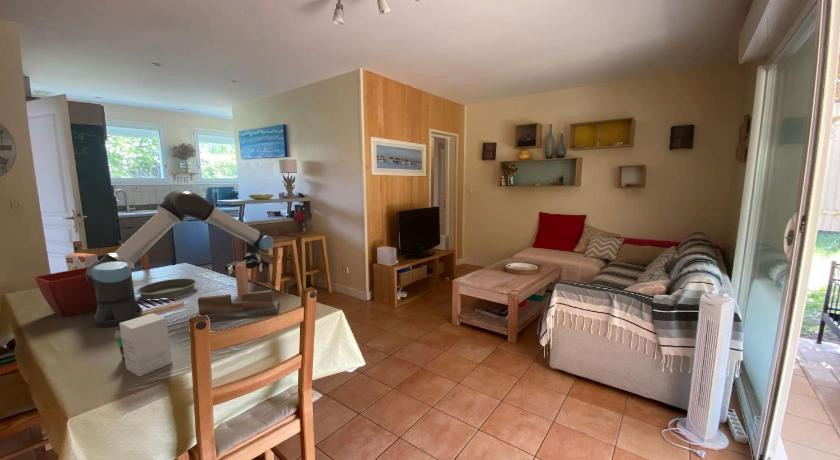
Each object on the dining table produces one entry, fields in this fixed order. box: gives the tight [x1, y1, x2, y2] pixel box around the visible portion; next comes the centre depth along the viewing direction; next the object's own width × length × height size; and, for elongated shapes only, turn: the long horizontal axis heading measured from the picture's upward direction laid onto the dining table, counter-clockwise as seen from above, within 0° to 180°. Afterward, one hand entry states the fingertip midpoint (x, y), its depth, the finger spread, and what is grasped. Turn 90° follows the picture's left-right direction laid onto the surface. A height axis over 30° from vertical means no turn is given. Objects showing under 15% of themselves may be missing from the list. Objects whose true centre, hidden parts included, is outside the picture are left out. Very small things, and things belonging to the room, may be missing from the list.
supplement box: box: [118, 312, 173, 377], centre depth 105 cm, size 9×9×15 cm
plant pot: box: [34, 267, 97, 318], centre depth 152 cm, size 19×19×17 cm
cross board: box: [193, 289, 280, 323], centre depth 147 cm, size 14×32×8 cm, turn 108°
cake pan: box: [136, 277, 198, 301], centre depth 174 cm, size 25×25×4 cm
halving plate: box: [235, 260, 249, 301], centre depth 161 cm, size 9×3×18 cm, turn 18°
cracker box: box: [64, 252, 99, 271], centre depth 172 cm, size 14×6×21 cm, turn 73°
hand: (245, 270), depth 168 cm, fingers open, 13 cm apart
